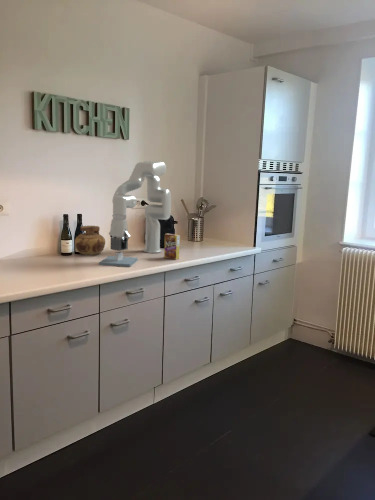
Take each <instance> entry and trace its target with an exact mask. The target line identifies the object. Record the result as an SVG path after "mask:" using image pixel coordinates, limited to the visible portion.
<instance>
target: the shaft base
mask: <svg viewBox="0 0 375 500" xmlns="http://www.w3.org/2000/svg"><path fill="white" fill-rule="evenodd" d="M123 253H124V252H123V251H117V252H115V255H108V256H106V257H105V258H104V259H102V260H100V261H99V262H98V265H99V266H109V267H110V266H111V267H123V268H124V267H125V268H127V267H128V268H130V267H132V266H133V265H134V264H135V263H137V262H138V261H139V257H134V256H132V257H131V256H124V254H123Z"/></svg>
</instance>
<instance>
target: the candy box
mask: <svg viewBox="0 0 375 500" xmlns="http://www.w3.org/2000/svg"><path fill="white" fill-rule="evenodd" d="M180 239H181V235H180V234H175V233H165V234H164V247H163V248H164V251H163V252H164V255H163V258H164V259H172V260H176V261H177V260H179V259H180Z"/></svg>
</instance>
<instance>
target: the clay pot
mask: <svg viewBox="0 0 375 500" xmlns="http://www.w3.org/2000/svg"><path fill="white" fill-rule="evenodd" d="M79 228H80V231H81V232H83V233H80V234H78V235H77V236H76V237H75V239H74V247H75V249H76V251H77V252H78V253H79V254H81V255H82V256H83V255H84V256H97V255H100V254H101V253H103V251H104V248H105V247H106V239H105V237H104V236H102V235H101V234H100V226H98V225H82V226H81V225H80V227H79Z"/></svg>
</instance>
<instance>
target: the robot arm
mask: <svg viewBox="0 0 375 500" xmlns="http://www.w3.org/2000/svg"><path fill="white" fill-rule="evenodd" d="M166 172H167V165H166V163H165V162H164V161H157V160H156V161H154V160H153V161H151V160H148V161H147V160H146V161H139V162H137V163H136V164H135V165H134V168H133V170H132V172H131V174H130V177H129V178H128V180H126V181H125V182H123V183H122V184H120V185H119V186H118V187H117V188H116V190H115V192H114V194H113V197H112V219H111V222H110V231H109V232H108V234H109V237H110V239H111V238H116V237H119V238H121V239H122V249H126V242H127V240H128V241H129V238H131V235H130V234H129V232H128V221H127V209H133V208H135V207H136V205H137V202H138V201H137V197H135V195H130V194H128V193H130V192H133V191H135V190H138V189H140V188H141V187H142V185H143V184H144V181H145V180H146V195H147V201H149V202H150V204H147V205H146V206H144V207H145V208H144V217H145V248H142V251H143V252H144V253H149V254H150V253H151V254H159V253H162V252H163V249H162V248H161V246H160V245H161V243H160V242H161V241H160V240H161V223H160V221H159V220H165V221H167V220H169V219H170V218H171V214H172V194H171V191H170V189H168V188H164V187H163V188H162V187H161V179H160V176H163V175H165V174H166ZM154 203H155V204H154ZM156 203H158V204H156ZM159 203H160V204H159Z"/></svg>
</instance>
